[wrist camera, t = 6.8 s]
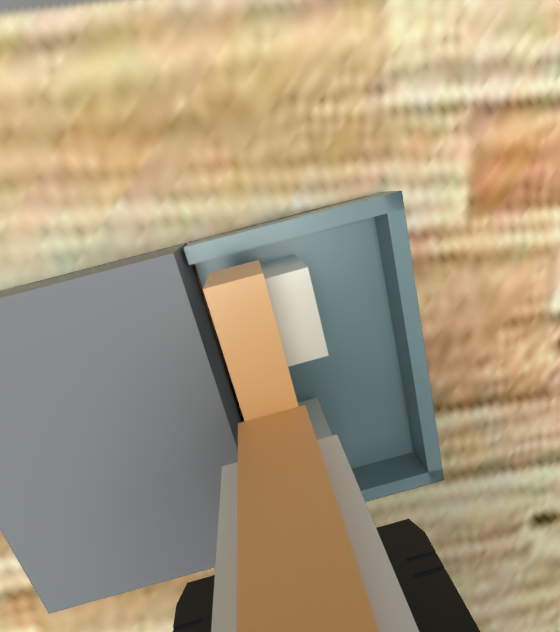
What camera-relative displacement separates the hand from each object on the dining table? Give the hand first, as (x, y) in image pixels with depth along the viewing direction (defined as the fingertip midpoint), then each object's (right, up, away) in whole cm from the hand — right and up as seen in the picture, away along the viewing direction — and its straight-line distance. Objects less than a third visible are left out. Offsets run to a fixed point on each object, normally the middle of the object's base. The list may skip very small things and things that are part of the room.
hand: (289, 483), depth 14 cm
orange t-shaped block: (0, +1, +4) cm, 4 cm away
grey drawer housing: (-9, 0, +8) cm, 12 cm away
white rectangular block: (-2, +6, +5) cm, 8 cm away
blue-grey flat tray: (+2, +3, +9) cm, 10 cm away
